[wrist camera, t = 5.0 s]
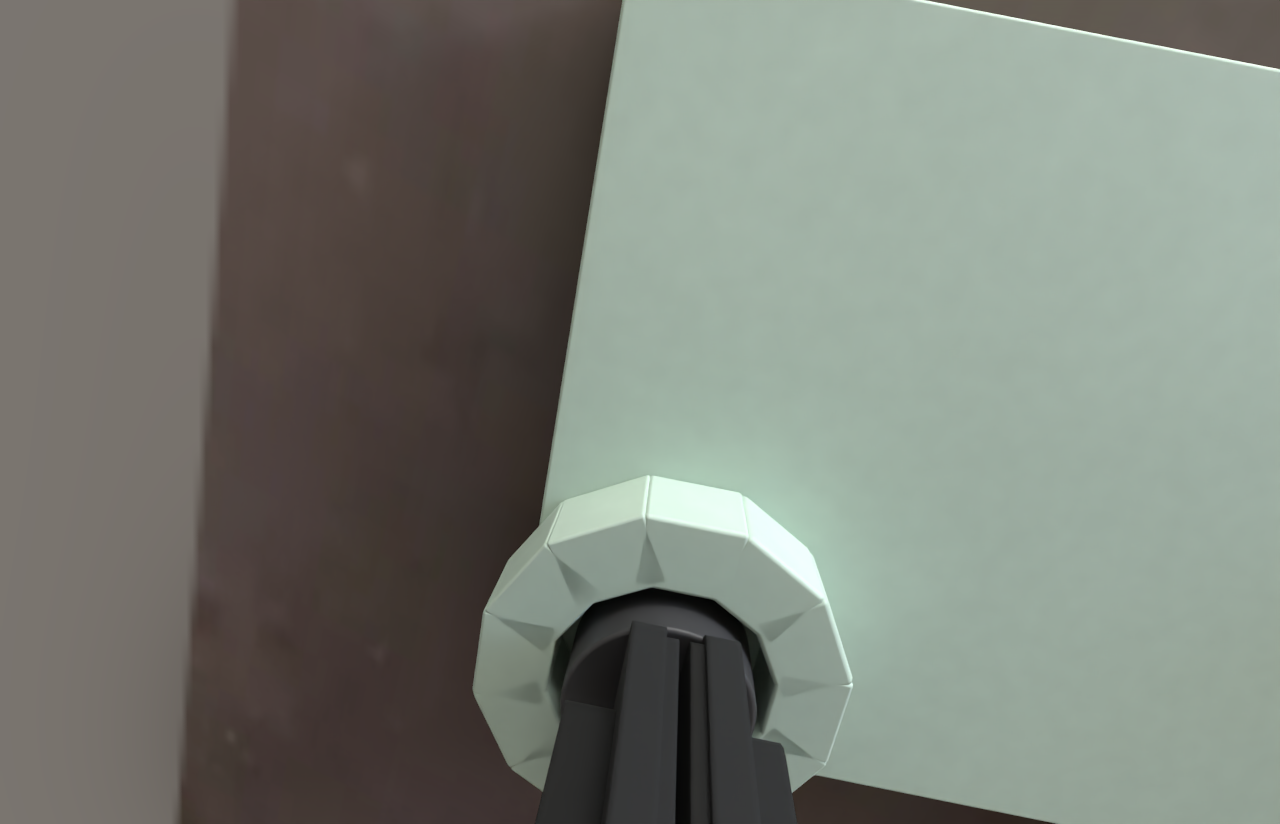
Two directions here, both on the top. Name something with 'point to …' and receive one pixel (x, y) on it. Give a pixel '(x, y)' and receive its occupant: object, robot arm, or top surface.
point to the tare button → (608, 634)
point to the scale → (930, 404)
